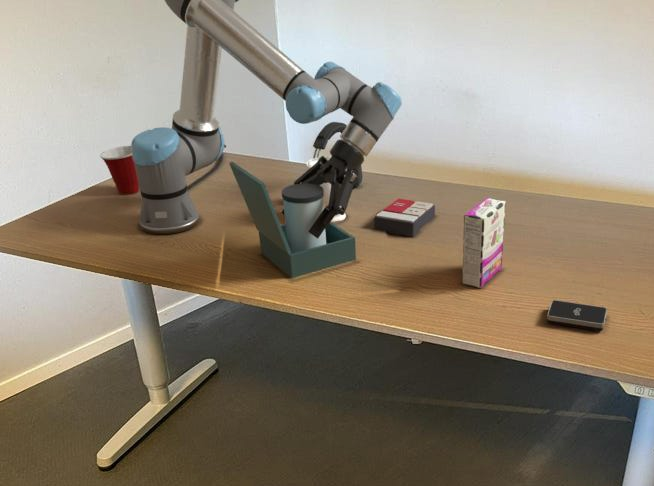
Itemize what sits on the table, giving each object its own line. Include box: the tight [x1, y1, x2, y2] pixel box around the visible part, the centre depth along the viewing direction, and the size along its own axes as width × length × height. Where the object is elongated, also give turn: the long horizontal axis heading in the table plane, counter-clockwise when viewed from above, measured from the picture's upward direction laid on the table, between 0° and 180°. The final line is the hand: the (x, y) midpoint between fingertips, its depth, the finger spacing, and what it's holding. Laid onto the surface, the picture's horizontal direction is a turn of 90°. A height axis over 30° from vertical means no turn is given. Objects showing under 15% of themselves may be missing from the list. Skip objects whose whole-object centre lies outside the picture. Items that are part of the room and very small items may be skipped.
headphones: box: [312, 121, 363, 189], centre depth 201 cm, size 22×6×20 cm, turn 152°
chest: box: [258, 221, 357, 279], centre depth 169 cm, size 17×17×6 cm
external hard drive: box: [546, 299, 608, 332], centre depth 145 cm, size 7×11×2 cm, turn 70°
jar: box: [306, 156, 347, 222], centre depth 188 cm, size 11×10×15 cm
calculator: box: [373, 198, 436, 237], centre depth 187 cm, size 11×4×15 cm
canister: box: [281, 183, 326, 253], centre depth 166 cm, size 9×9×16 cm
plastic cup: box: [99, 145, 140, 195], centre depth 208 cm, size 11×11×12 cm
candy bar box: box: [461, 197, 507, 289], centre depth 157 cm, size 11×5×16 cm, turn 148°
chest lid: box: [228, 161, 291, 254], centre depth 158 cm, size 17×17×1 cm
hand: (298, 225), depth 166 cm, fingers open, 13 cm apart
